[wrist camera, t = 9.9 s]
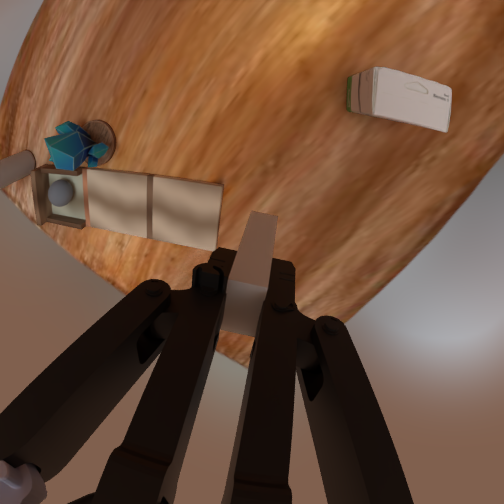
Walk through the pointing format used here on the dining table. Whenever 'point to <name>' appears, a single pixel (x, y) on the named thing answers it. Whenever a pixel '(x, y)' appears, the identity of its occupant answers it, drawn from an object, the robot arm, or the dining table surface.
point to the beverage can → (16, 167)
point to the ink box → (400, 98)
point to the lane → (133, 204)
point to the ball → (60, 193)
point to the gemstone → (81, 145)
